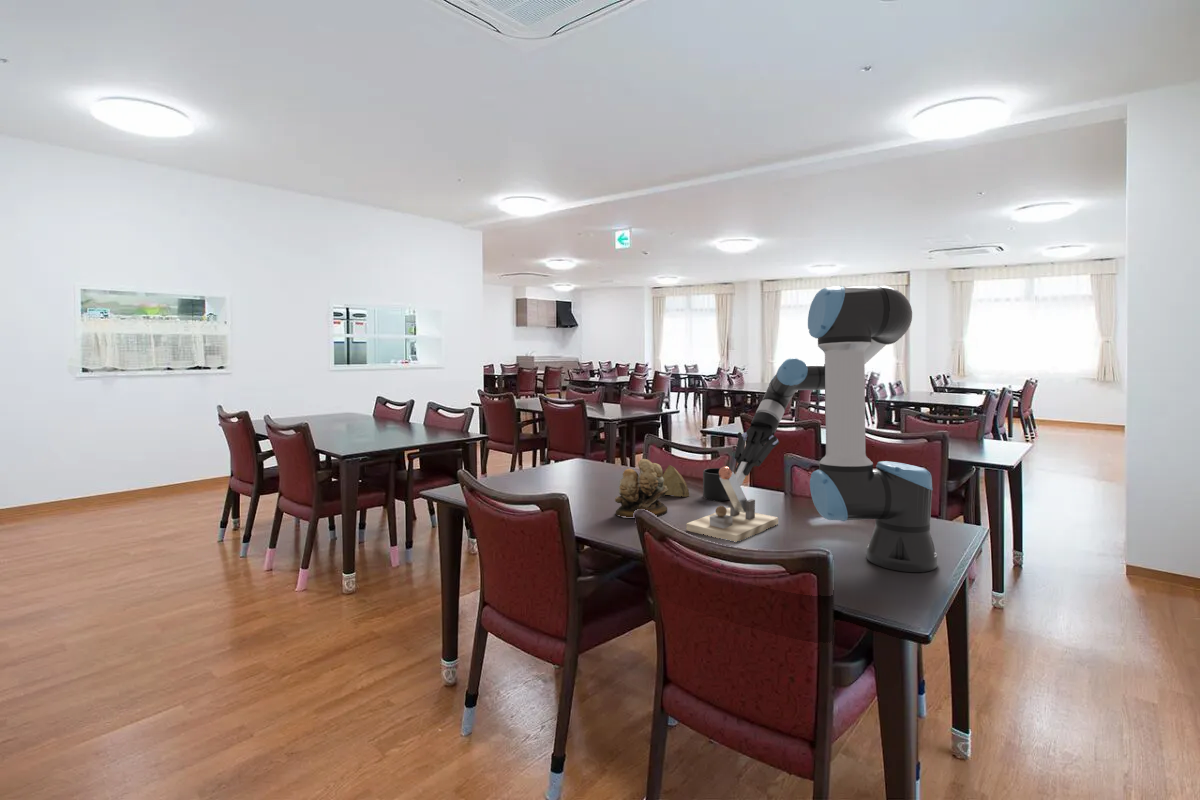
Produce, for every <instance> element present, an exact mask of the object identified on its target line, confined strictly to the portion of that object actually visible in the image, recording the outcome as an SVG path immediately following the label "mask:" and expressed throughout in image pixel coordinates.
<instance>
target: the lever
mask: <svg viewBox="0 0 1200 800" xmlns="http://www.w3.org/2000/svg"><path fill="white" fill-rule="evenodd" d="M719 468H720V470H719V476H720V478H719V479H720V481H721V483H722V485H723V487H724V489H725V491H726V493H727V495H728V497H729V502H730V501H731V503H732V505H733V507H734V509H735V511H737V512H742V513H745V512H746V501H747V500H748V499H747V497H746V495H745V493H744V491H743V489H742V487H741V486H740V484H739V482H738V480H737V478H736V476H735V474H736V473H735V472H734V471H732V469H731V468H730V467H729V466H727V465H726V466H722V467H719Z"/></svg>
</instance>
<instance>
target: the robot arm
mask: <svg viewBox="0 0 1200 800" xmlns="http://www.w3.org/2000/svg"><path fill="white" fill-rule="evenodd" d="M807 314H808V315H807V329H808V330H809V331H808V333H809V335H810V336H811V337H812V338H815V339H817V347H818V348H819V349H820V350H821V351H822V352H823V353H824V363H805V362H804V360H802V359H799V358H797V357H790V358H787V359H785V360H784V361H783V362H782V363H781V365H780V366H779V367H778V369H777V372H776V374H774V376H773V377H772V379H771V380H770V381H769V383H768V387H767V388H766V391H765V393H764V396H763V398H762V400H761V401H760V403H759V406H758V407H757V409H756V411H755V414H754V415H753V418H752V420H751V422H750V427H749V428H748V429H746V432H743V433H742V432H738V433H737V443H736V449H735V453H734V456H733V457H734V460H735V461H736V463H737V466H736V468H735V469H734V470H735V472H734V474H735V476H736V478H737V480H738V482H739V484H740V487H741V486H742V485H743V483H744V481H745V478H746V476H749V475H750V473H751V471H752V468H754V467H761V465H762V463H764V461H765V460H766V458H767V457H768V456H769V454H770V453H771V451H772V450H773V449H775V447H776V446H778V445H779V444H780V441H779V439H778V438H777V436H776V435H775V433H776V431H777V429H778V427H779V425H780V423H781V421H782V419H783V416H784V414H785V412H786V409H787V407H788V405H789V404H790V401H791V399H792V398H793V397H794V395H795V394H796V393H797V391H815V390H816V391H817V390H821V391H824V395H825V404H824V405H825V407H824V408H825V455H824V456H823V457H822V458H821V460H820V459H819V469H816V470H814V471H812V472H811V474H810V478H809V490H810V494H811V499H812V502H813V505H814V507H815V509H816V511H817V512H818V514H819V515H820V516H821V517H822V518H824V520H825V519H826V520H827V521H841V522H846V521H864V520H866V521H867V520H875V521H874V528H873V531H872V533H871V537H870V540H869V543H868V544H867V546H866V551H865V552H866V554H865V557H866V559H867V561H869V562H871V563H872V564H873V565H876V566H878V567H882V568H884V569H887V570H892V571H896V572H897V571H898V572H905V573H926V572H930V571H931V572H932V571H934V570H936V569H937V567H938V560H939V559H938V554H937V552H936V549H935V545H934V542H933V538H932V534H931V519H932V518H931V515H932V514H931V513H932V494H933V489H934V488H933V479H932V473H931V472H930V471H929V470H928V469H926V468H923V467H920V466H917V465H912V464H907V463H903V462H897V461H888V460H885V461H884V460H882V461H878V462H877V464H876V465H875V467H876V468H874V463H873V461H871V459H870V458H868V456H867V453H866V383H865V382H866V381H865V380H866V379H865V378H866V377H865V375H866V374H865V371H866V369H865V368H866V367H865V365H866V364H867V363H868V362H870V360H871V359H872V358H873V357H875V356H876V355H877V354H878V353H879V352H881V350H883V349H884V347H886V346H888V345H892V344H894V343H896V342H898V341H899V340H900V339H901V338H902V337H903V336H904V335H906V333H907V332H908V330H909V328H910V327H911V324H912V321H913V310H912V306H911V303H910V301H909V300H908V299H907V297H906V296H905V294H903V293H902V292H901V291H899V290H898V289H895V288H892V287H890V286H885V285H883V286H882V285H881V286H880V285H878V286H865V285H864V286H863V285H858V286H857V285H853V286H852V285H839V286H830V287H829V286H827V287H824V288H821V289H820V290H819V291H818V292H816V294H815V296H814V297H813V299H812V301H811V303H810V305H809V311H808V313H807ZM746 441H747V442H746Z"/></svg>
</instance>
